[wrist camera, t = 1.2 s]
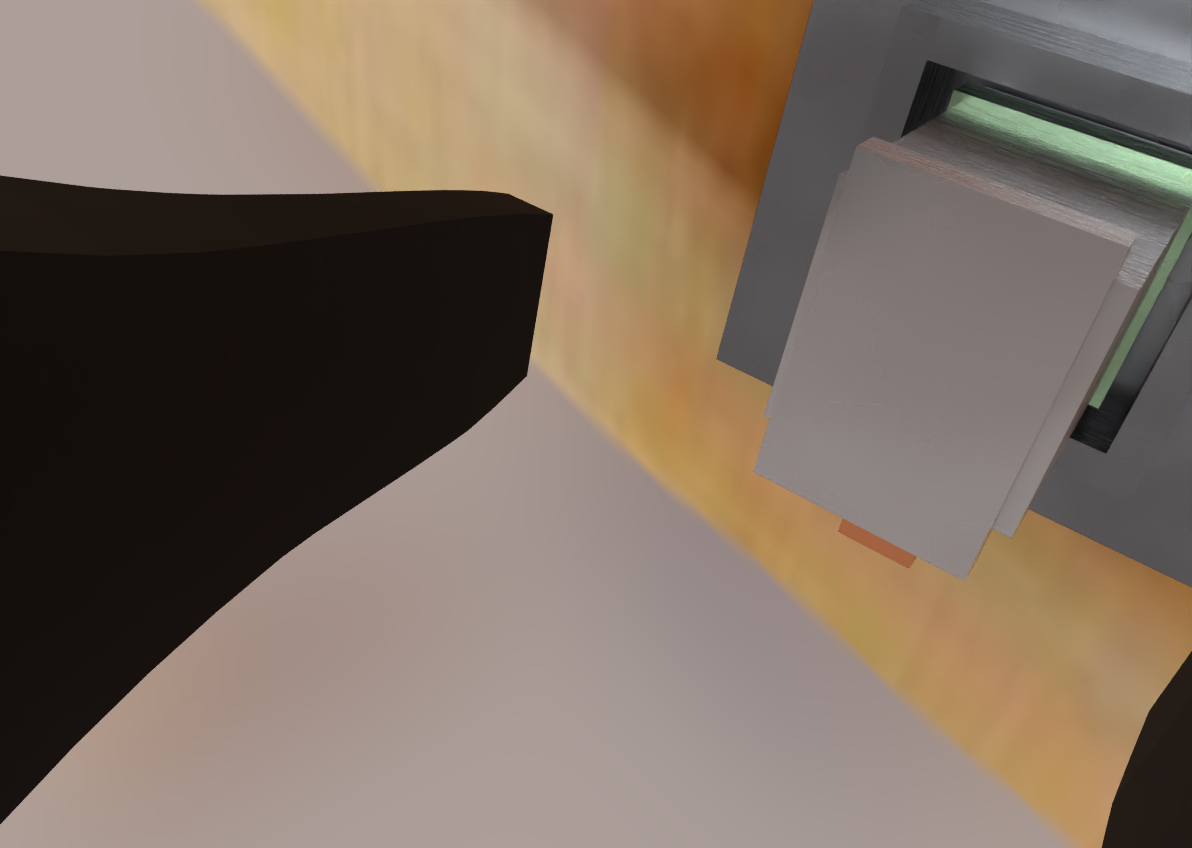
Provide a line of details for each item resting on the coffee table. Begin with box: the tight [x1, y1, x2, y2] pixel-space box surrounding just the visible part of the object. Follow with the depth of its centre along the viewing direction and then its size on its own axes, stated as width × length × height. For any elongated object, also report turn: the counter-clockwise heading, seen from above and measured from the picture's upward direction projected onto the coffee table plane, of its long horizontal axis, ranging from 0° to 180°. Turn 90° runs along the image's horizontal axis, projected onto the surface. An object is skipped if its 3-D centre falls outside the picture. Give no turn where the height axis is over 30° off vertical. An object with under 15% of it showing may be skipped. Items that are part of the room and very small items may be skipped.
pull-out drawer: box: [753, 82, 1192, 581], centre depth 15 cm, size 4×5×6 cm
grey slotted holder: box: [717, 0, 1192, 587], centre depth 16 cm, size 10×10×5 cm
